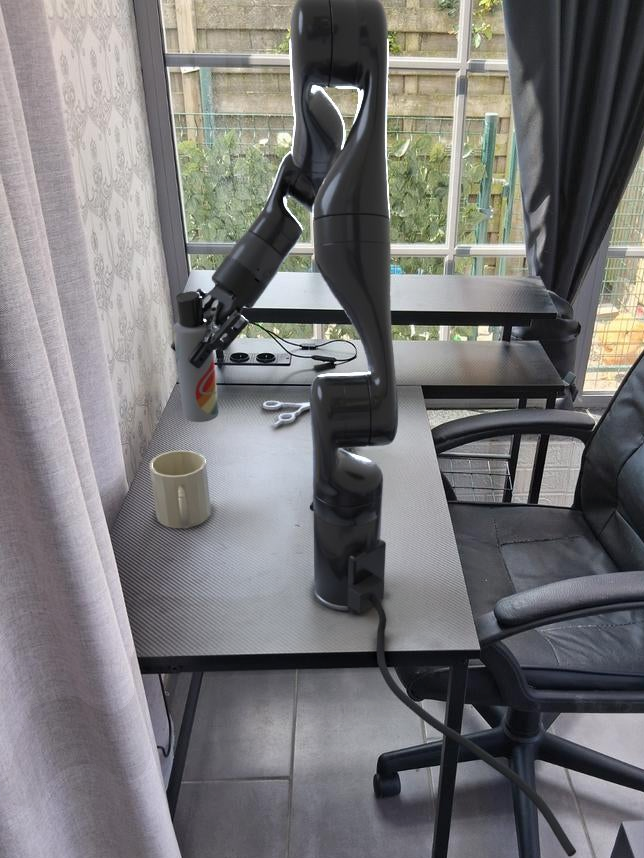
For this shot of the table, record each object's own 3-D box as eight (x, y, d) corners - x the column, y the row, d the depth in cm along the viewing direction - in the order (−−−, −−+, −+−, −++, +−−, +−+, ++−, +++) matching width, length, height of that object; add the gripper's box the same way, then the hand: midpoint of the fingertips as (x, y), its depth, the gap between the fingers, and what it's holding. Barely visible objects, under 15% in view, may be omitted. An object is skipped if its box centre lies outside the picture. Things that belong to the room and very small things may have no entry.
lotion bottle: (226, 415, 130) (215, 294, 119) (197, 426, 126) (183, 302, 115) (205, 404, 133) (193, 285, 122) (176, 414, 129) (161, 293, 118)
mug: (155, 503, 132) (148, 453, 127) (208, 497, 135) (203, 447, 129) (158, 543, 123) (151, 490, 118) (214, 536, 125) (209, 484, 120)
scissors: (254, 403, 164) (340, 385, 173) (254, 407, 165) (340, 389, 173) (275, 424, 157) (363, 404, 165) (275, 427, 157) (363, 408, 166)
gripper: (210, 243, 124) (147, 330, 125) (254, 266, 115) (186, 361, 115) (242, 272, 130) (182, 355, 131) (287, 296, 121) (222, 386, 121)
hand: (184, 357), depth 123 cm, fingers closed on lotion bottle, 5 cm apart
